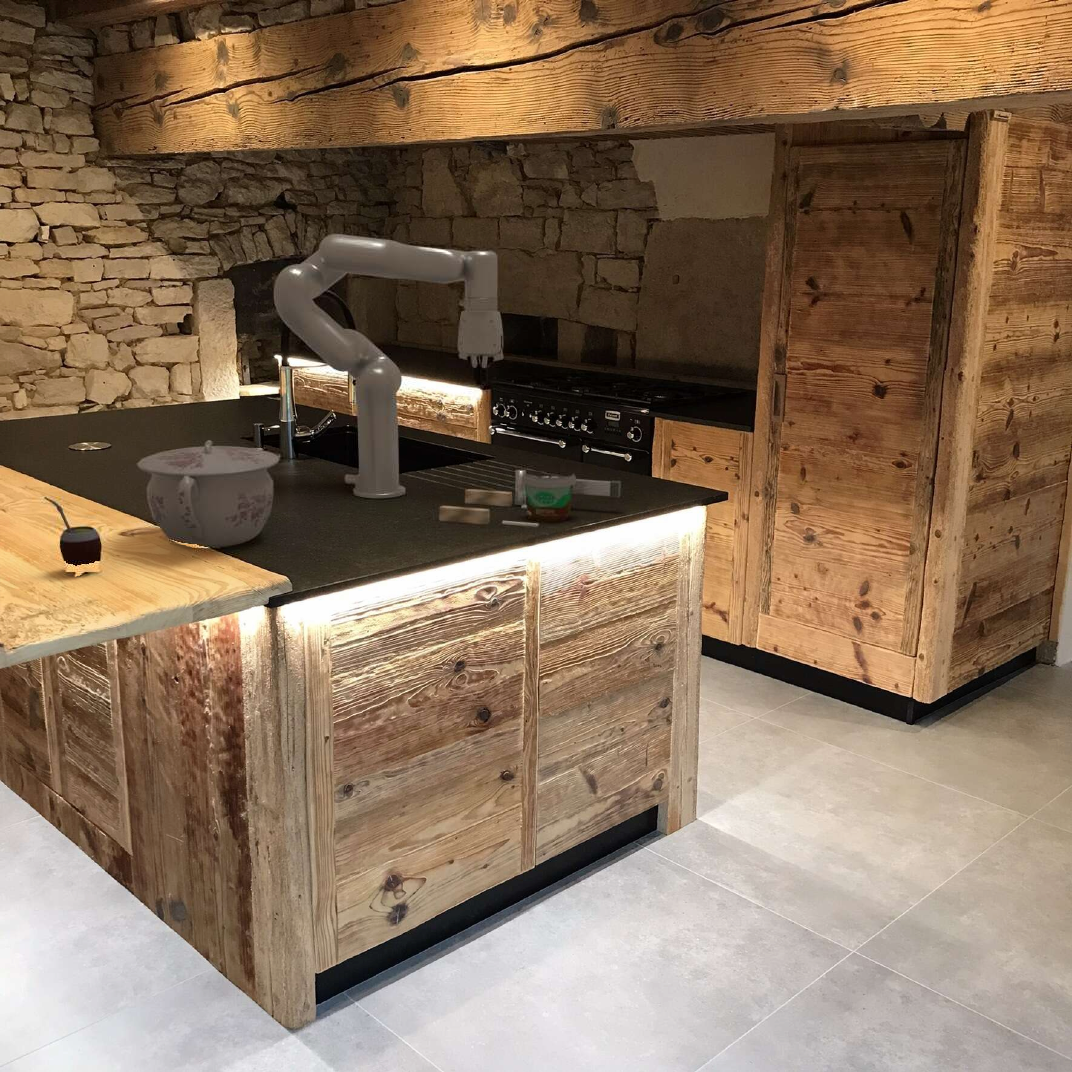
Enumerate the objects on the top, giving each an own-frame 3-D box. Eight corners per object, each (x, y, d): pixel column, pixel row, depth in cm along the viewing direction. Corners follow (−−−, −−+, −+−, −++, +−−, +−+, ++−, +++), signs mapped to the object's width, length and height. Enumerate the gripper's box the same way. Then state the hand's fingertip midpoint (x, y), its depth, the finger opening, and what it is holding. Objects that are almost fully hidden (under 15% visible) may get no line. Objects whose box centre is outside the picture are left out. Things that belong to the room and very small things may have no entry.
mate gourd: (109, 566, 204) (102, 488, 200) (94, 579, 196) (86, 497, 192) (68, 566, 203) (60, 487, 199) (51, 578, 196) (43, 497, 192)
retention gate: (617, 512, 250) (619, 478, 248) (514, 504, 256) (514, 471, 254) (619, 510, 252) (620, 476, 250) (516, 502, 258) (517, 469, 256)
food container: (521, 522, 241) (522, 478, 238) (521, 516, 246) (521, 472, 244) (577, 523, 241) (578, 478, 238) (575, 516, 247) (576, 473, 244)
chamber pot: (230, 517, 241) (225, 424, 236) (311, 539, 224) (307, 439, 219) (113, 542, 220) (104, 440, 215) (192, 568, 203) (185, 459, 198)
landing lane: (502, 524, 239) (502, 521, 239) (522, 507, 255) (522, 504, 255) (537, 526, 237) (537, 524, 237) (555, 509, 253) (556, 507, 253)
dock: (439, 520, 241) (439, 507, 240) (467, 501, 260) (467, 488, 259) (486, 524, 238) (486, 511, 238) (512, 504, 257) (512, 492, 256)
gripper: (445, 305, 253) (445, 384, 257) (507, 307, 249) (506, 387, 254) (456, 303, 260) (456, 381, 264) (516, 305, 256) (515, 383, 261)
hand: (481, 384), depth 259 cm, fingers closed
